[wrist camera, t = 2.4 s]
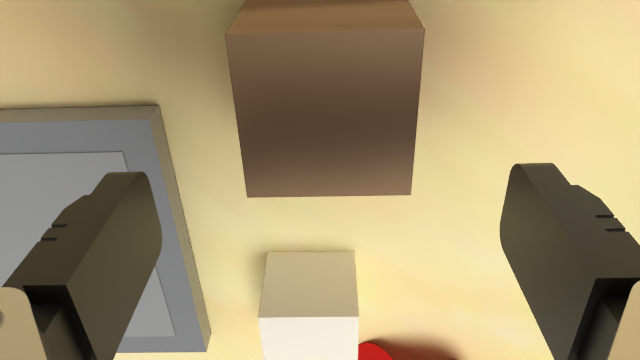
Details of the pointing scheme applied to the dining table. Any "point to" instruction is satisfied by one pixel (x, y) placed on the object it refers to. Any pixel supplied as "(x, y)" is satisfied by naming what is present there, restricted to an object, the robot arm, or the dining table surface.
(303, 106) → the walnut block
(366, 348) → the red rounded lumpy piece
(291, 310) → the cream block
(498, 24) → the dining table surface
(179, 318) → the plate
